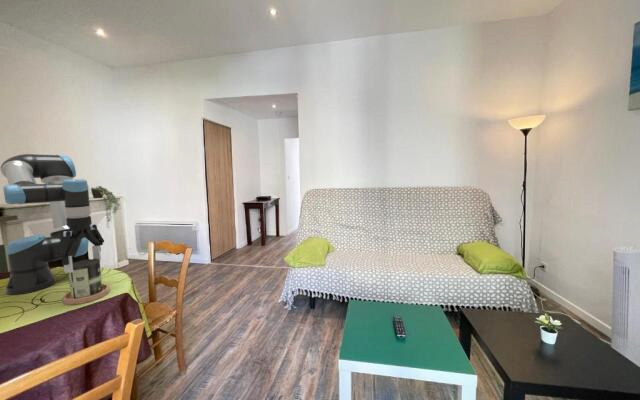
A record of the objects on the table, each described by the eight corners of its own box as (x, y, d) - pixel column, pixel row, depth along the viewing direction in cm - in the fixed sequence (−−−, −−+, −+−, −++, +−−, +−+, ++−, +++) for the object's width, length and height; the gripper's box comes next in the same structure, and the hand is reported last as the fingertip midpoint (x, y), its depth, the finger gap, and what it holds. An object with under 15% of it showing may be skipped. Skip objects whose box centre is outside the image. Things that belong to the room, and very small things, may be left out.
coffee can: (100, 286, 117) (97, 257, 115) (105, 293, 110) (102, 262, 109) (69, 295, 109) (65, 263, 108) (72, 303, 102) (68, 269, 101)
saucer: (70, 292, 112) (70, 288, 112) (112, 285, 119) (112, 281, 119) (57, 308, 100) (56, 303, 99) (105, 299, 107) (104, 294, 106)
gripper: (94, 211, 118) (98, 255, 120) (37, 222, 93) (44, 278, 96) (111, 211, 118) (115, 255, 121) (58, 222, 93) (65, 278, 96)
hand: (83, 265), depth 108 cm, fingers open, 13 cm apart
